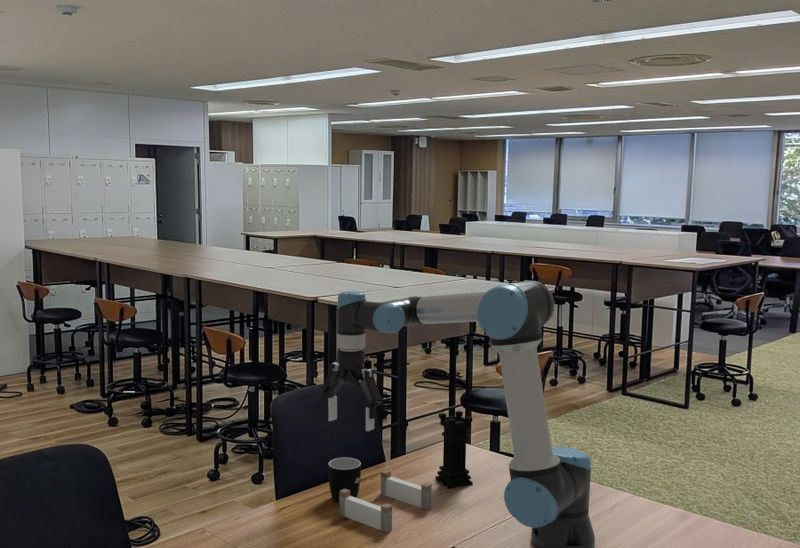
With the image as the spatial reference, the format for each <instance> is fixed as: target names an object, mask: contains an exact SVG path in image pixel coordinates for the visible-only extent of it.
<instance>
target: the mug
mask: <svg viewBox="0 0 800 548" xmlns="http://www.w3.org/2000/svg"><path fill="white" fill-rule="evenodd" d="M327 467H328V468H327V471H328V483H329V484H328V485H329V492H330V495H331V498H332V500H333V501H334V502H335V503H338V504H339V491H341V490H343V489H347V490H350V496H352V497H355V498H358V495H359V491H360V484H361V477H362V475H361V474H362V473H361V472H362V463H361V461H360V460H359V459H357V458H353V457H345V456H344V457H337V458H334V459H331V460H330V461H328V465H327Z"/></svg>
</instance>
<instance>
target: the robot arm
mask: <svg viewBox="0 0 800 548" xmlns="http://www.w3.org/2000/svg"><path fill="white" fill-rule="evenodd" d="M337 295H338V296H337V304H336V305H337V306H336V309H337V310H336V313H337V315H336V316H337V334H336V335H337V336H336V337H337V340H336V341H337V342H336V347H337V348H338V349H337V351H336V353H337V358H336V359H337V360H336V361H335V362H331V363H329V370H328V373H327V375H326V377H325V381H324V383H323V385H322V388H321V390H320V393H321V394H322V395H325V396H326V407H327V409H328V422H332V421H335V420H338V396H337V392H338V391H339V390H340V388H341V387H342V385H344V383H349V384H354V386H355V387H356V388H357V389H358V390H359V392H360V393H361V396H362V397H363V399H364V401H365V403H366V404H367V406H365V431H366V432H370V431H372V430H375V419H376V417H377V407H378V406H380V405H383V403H384V402H383V399H382V397H381V394H380V391H379V387H378V384H377V382H376V379H375V376H374V375H375V374H374V369H373V368H369V369H366V368H364V366H365V365H364V364H365V363H366V350H365V347H366V330H367V331H374V332H378V333H382V334H396V333H398V332H400V330H401V329H402V328H403V327H408V326H417V325H434V324H435V325H436V324H455V323H456V324H457V323H474V322H477V323H478V324H479V327H480V329H481V330H482V331H484V333H485V335H486V336H488V337H489V341H490V342H489V343H490V346H491V348H493V350H495V351H496V352H497V353H498V357H499V362H500V370H501V371H500V372H501V378H502V383H503V384H502V385H503V390H504V397H505V403H506V410H507V411H506V412H507V417H508V423H509V430H510V436H511V444H512V449H513V458H512V459H511V460H510V461H509V463H508V469H509V476H510V477H509V478H510V481H509V482H508V483H507V485H506V486H505V488H504V492H503V501H504V504H505V507H506V509H507V511H508V513H509V514H510V515H511V516H512V517H513V518H515V520H517V522H518V523H520V524H521V525H523V526H525V527H527V528H531V531H530V540H531V543H532V545H533V546H535V547H536V548H595V545H596V543H595V542H596V537H595V533H594V529H593V526H592V521H591V519H590V515H589V510H590V509H589V507H590V496H591V494H590V493H591V472H592V465H591V462H592V460H591V457H590V456H589V455H588V453H586V452H584V451H582V450H579V449H576V448H573V447H572V448H571V447H565V446H555V445H554V446H552V442H551V436H550V430H549V422H548V415H547V409H546V408H547V407H546V402H545V396H544V389H543V382H542V375H541V368H540V362H539V361H540V360H539V355H538V346H539V344H540V343H541V342H542V341H543V336H542V329H541V328H542V327H543V326H545V325H547V323H548V322H549V321H550V320H551V318H552V316H553V314H554V311H555V299H554V296H553V294H552V291H550V289H549V287H547V286H546V285H545V284H543V283H542V282H539V281H536V280H522V281H517V282H511V283H504V284H503V283H502V284H500V285H497V286H495V287H492V288H491V289H488V290H487V291H475V292H473V291H472V292H463V293H452V294H441V295H440V294H439V295H427V296H414V295H413V296H409V297H406V298H405V297H404V298H401V299H395V300H393V299H392V300H388V301H387V300H386V301H382V302H377V301H369V300H367V298H366V293H365V292H363V291H356V290H355V291H354V290H349V291H342V292H340V293H339V294H337ZM338 372H339V375H338Z"/></svg>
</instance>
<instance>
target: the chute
mask: <svg viewBox="0 0 800 548" xmlns="http://www.w3.org/2000/svg"><path fill="white" fill-rule="evenodd" d="M432 486H433V485H432V483H428V482H424V483H422V484H421V485H419V484H416V483H413V482H409V481H406V480H402V479H400V478H397V477H394V476H392V471H390V470H387V469H384V470H382V471H380V495H382V496H386V497H389V498H392V499H394V500H398V501H401V502H403V503H405V504H409V505H412V506H414V507H417V508H421V509H423V510H426V511H427V510H429V509H431V508H432V493H433V492H432ZM338 504H339V505H338V506H339V507H338V508H339V509H338V510H339V515H340V516H342V517H345V518H348V519H350V520H353V521H355V522H357V523H360V524H364V525H366V526H368V527H371V528H373V529H376V530H379V531H381V532H384V533H389V532H391V531H392V530H393V505H392V504H390V503H386V502H385V503H384V504H382V505H377V504H375V503H372V502H369V501H366V500H364V499H360V498H358V497H357V498H355V497H352V496H350V490H347V489H343V490H341V491H339V503H338Z"/></svg>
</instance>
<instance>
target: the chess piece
mask: <svg viewBox="0 0 800 548" xmlns="http://www.w3.org/2000/svg"><path fill="white" fill-rule="evenodd" d="M463 415H464V413H463V411H462V410H456V411H455V414H454V415H450V416H447V413H445V412H440V413H438V418H439V419H440V421H439V423H440V424H439V425H440V426H442V427H443V432H441V436H443V446H442V447H443V451H442V452H443V453H442V465H439V467H438V468H439V469H438V470H437V473H436V474H437V475H435V477H434V478H435V480H436V479H437V480H438V482H439V483H440V485H442V486H444V487H445V488H446V487H447V489H448V490H451V489H457V488H461V487H467V486H473V483H474V482H473V481H472V477H471V475H470V471H469V469H467V468H466V466H467V465H466V464H467V463H466V459H467V457H466V455H467V440H468V439H469V435H467V429H471V423H472V422H473V417H472V416H470V415H468V416H464V417H463ZM437 480H436V481H437ZM456 487H457V488H456ZM450 488H451V489H450Z"/></svg>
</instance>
